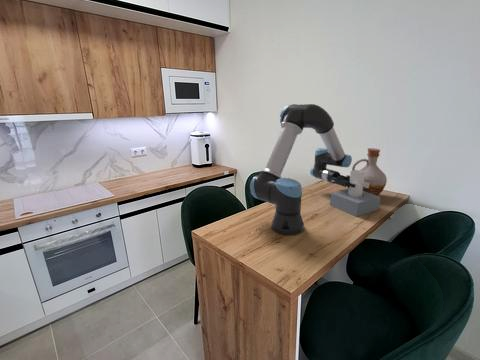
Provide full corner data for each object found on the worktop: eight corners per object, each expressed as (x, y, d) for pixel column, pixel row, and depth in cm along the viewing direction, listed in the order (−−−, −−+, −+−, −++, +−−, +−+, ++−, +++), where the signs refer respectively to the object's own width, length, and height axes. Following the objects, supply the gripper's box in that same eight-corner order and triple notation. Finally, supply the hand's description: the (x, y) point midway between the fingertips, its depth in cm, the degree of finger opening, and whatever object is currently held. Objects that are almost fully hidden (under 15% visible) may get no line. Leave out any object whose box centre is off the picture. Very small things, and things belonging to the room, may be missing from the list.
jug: (349, 199, 153) (354, 150, 144) (349, 190, 169) (354, 145, 160) (385, 203, 146) (393, 152, 137) (382, 193, 161) (389, 147, 153)
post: (354, 204, 137) (358, 173, 132) (347, 201, 142) (350, 171, 137) (361, 202, 140) (364, 171, 134) (353, 200, 144) (356, 169, 139)
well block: (356, 216, 130) (357, 203, 128) (329, 205, 145) (330, 192, 143) (378, 209, 138) (380, 196, 135) (351, 199, 153) (352, 187, 151)
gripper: (341, 179, 158) (375, 190, 138) (319, 184, 150) (352, 196, 130) (342, 168, 156) (376, 177, 136) (320, 172, 148) (353, 182, 128)
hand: (364, 186), depth 133 cm, fingers closed on post, 5 cm apart
